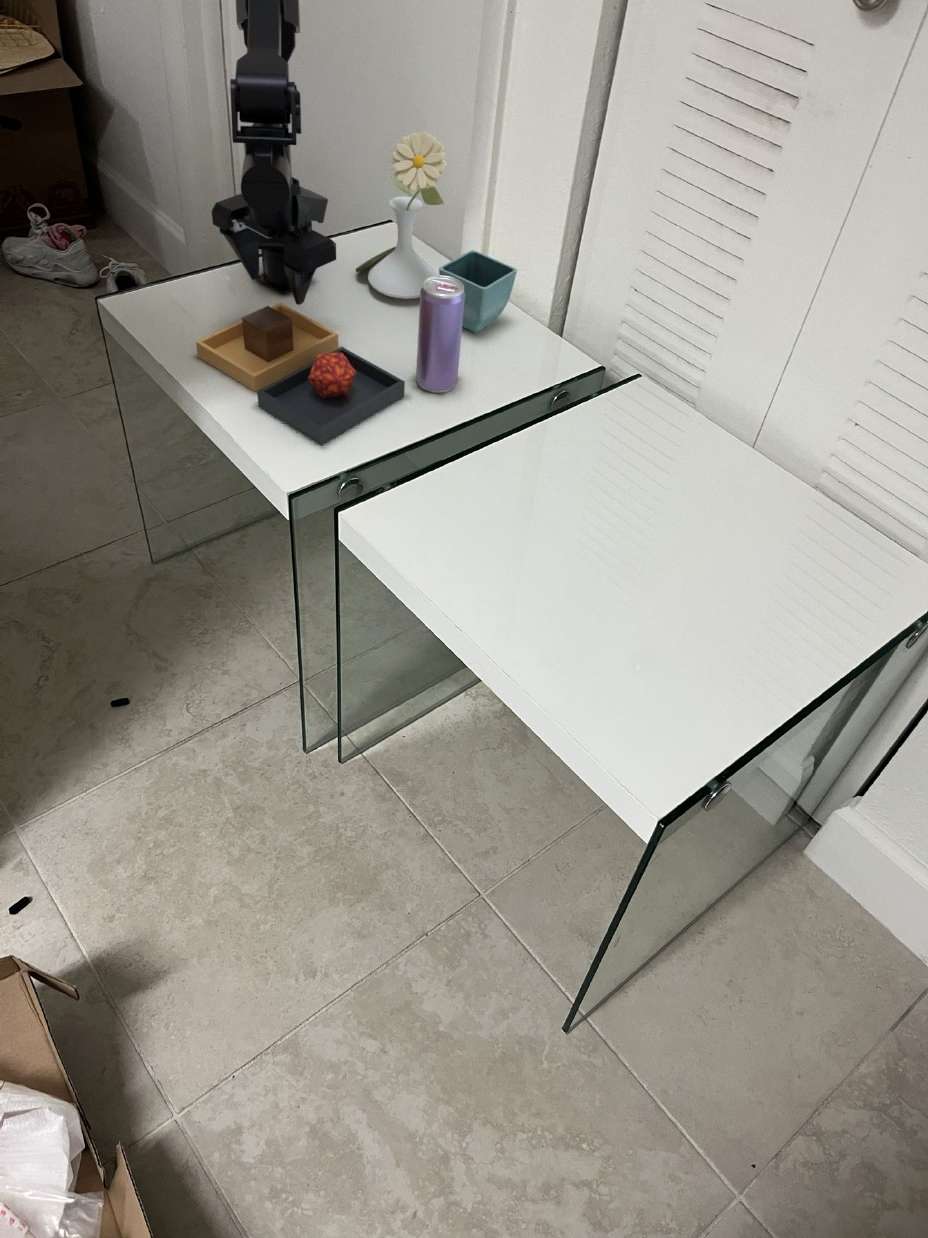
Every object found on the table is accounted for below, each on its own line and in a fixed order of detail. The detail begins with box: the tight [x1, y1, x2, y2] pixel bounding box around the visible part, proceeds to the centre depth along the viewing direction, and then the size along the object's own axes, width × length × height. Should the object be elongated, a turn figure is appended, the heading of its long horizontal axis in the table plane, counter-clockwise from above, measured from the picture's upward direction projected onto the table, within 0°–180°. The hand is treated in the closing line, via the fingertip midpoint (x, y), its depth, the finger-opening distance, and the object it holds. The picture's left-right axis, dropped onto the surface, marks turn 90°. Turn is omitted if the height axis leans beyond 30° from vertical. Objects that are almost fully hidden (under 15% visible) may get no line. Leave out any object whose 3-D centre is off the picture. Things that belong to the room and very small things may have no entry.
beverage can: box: [415, 274, 465, 394], centre depth 131 cm, size 6×6×15 cm
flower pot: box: [438, 249, 518, 333], centre depth 145 cm, size 9×9×9 cm
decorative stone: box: [308, 352, 356, 398], centre depth 130 cm, size 6×7×8 cm
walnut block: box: [241, 305, 294, 362], centre depth 136 cm, size 5×5×5 cm
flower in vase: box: [367, 130, 447, 300], centre depth 144 cm, size 13×11×25 cm
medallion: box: [355, 245, 397, 273], centre depth 154 cm, size 8×8×1 cm
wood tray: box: [195, 302, 339, 393], centre depth 137 cm, size 12×16×2 cm
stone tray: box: [256, 346, 406, 446], centre depth 130 cm, size 12×16×2 cm
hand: (277, 290), depth 133 cm, fingers open, 9 cm apart
